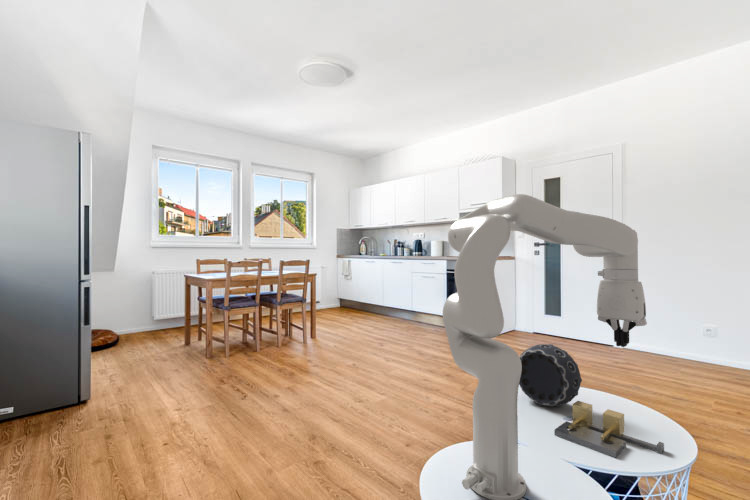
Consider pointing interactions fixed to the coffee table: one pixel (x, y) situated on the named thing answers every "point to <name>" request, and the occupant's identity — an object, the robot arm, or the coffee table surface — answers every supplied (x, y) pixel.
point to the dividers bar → (585, 419)
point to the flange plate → (591, 439)
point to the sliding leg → (612, 423)
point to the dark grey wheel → (549, 375)
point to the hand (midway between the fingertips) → (621, 345)
